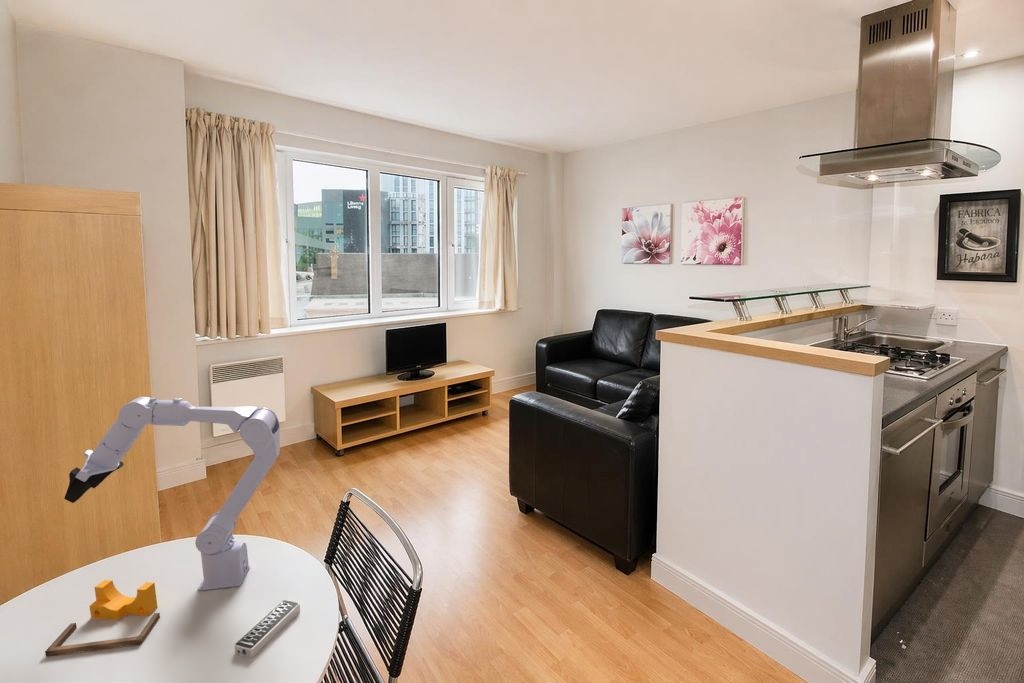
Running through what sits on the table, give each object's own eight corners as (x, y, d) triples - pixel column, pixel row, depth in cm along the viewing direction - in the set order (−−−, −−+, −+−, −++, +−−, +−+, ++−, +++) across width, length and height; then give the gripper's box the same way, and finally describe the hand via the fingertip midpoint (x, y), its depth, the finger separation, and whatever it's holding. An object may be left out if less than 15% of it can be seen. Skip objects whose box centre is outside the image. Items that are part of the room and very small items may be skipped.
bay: (160, 617, 113) (159, 612, 113) (141, 644, 105) (141, 639, 105) (71, 628, 109) (70, 623, 109) (45, 656, 102) (44, 651, 102)
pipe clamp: (91, 618, 113) (87, 592, 112) (108, 605, 117) (104, 579, 116) (142, 621, 112) (139, 595, 111) (157, 608, 116) (154, 582, 115)
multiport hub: (301, 611, 115) (300, 602, 115) (252, 660, 101) (251, 649, 101) (284, 608, 116) (284, 599, 116) (234, 655, 103) (233, 645, 102)
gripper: (116, 425, 122) (82, 471, 122) (78, 445, 108) (40, 498, 108) (144, 440, 124) (111, 486, 124) (111, 463, 110) (73, 514, 110)
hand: (80, 492), depth 116 cm, fingers open, 7 cm apart
